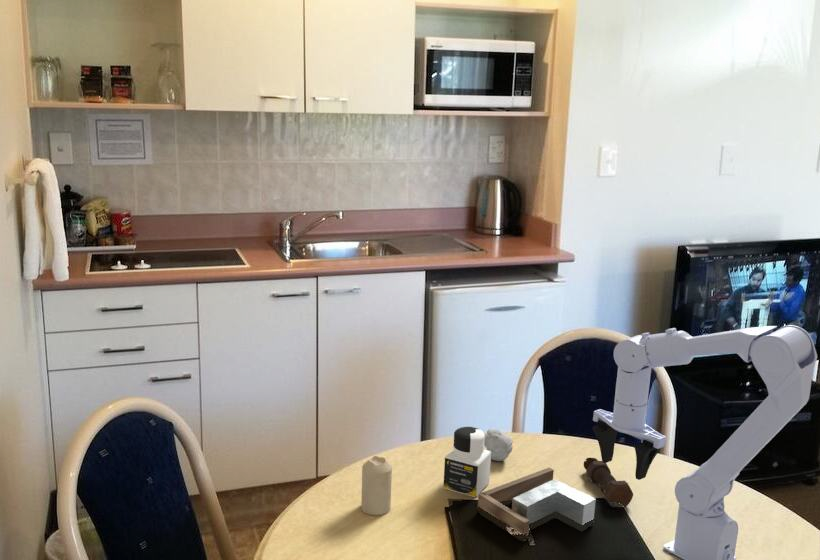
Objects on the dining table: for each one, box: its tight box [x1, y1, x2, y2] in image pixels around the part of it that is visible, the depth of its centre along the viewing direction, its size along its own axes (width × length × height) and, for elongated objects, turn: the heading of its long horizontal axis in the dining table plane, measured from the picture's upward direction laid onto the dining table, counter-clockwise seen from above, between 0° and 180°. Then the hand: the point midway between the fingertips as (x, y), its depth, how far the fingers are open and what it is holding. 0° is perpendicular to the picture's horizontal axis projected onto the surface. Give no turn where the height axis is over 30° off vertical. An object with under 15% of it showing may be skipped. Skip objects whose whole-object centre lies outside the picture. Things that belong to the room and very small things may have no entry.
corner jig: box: [477, 467, 555, 535], centre depth 145 cm, size 12×19×4 cm, turn 127°
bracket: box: [511, 478, 596, 525], centre depth 141 cm, size 12×10×6 cm
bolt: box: [583, 457, 634, 508], centre depth 155 cm, size 6×5×15 cm
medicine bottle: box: [442, 426, 492, 498], centre depth 153 cm, size 7×7×12 cm
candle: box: [361, 455, 393, 516], centre depth 144 cm, size 6×6×10 cm
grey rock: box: [484, 428, 514, 462], centre depth 165 cm, size 6×7×7 cm
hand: (623, 469), depth 143 cm, fingers open, 7 cm apart
